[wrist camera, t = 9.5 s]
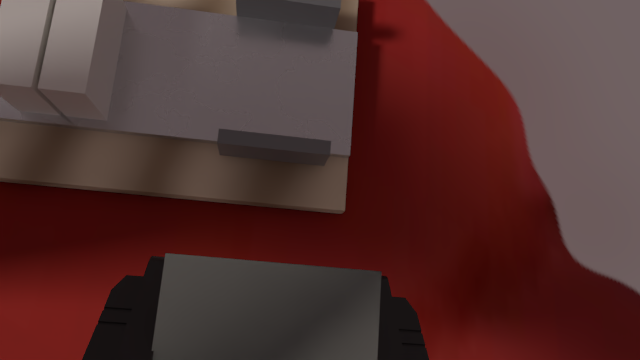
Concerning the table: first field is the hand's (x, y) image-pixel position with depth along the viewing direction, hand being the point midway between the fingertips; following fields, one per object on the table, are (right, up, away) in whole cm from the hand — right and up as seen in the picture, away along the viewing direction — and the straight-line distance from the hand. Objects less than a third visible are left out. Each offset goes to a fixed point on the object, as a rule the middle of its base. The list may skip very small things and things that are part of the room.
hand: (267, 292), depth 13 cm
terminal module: (-1, -2, +4) cm, 4 cm away
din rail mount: (-7, +9, +19) cm, 22 cm away
